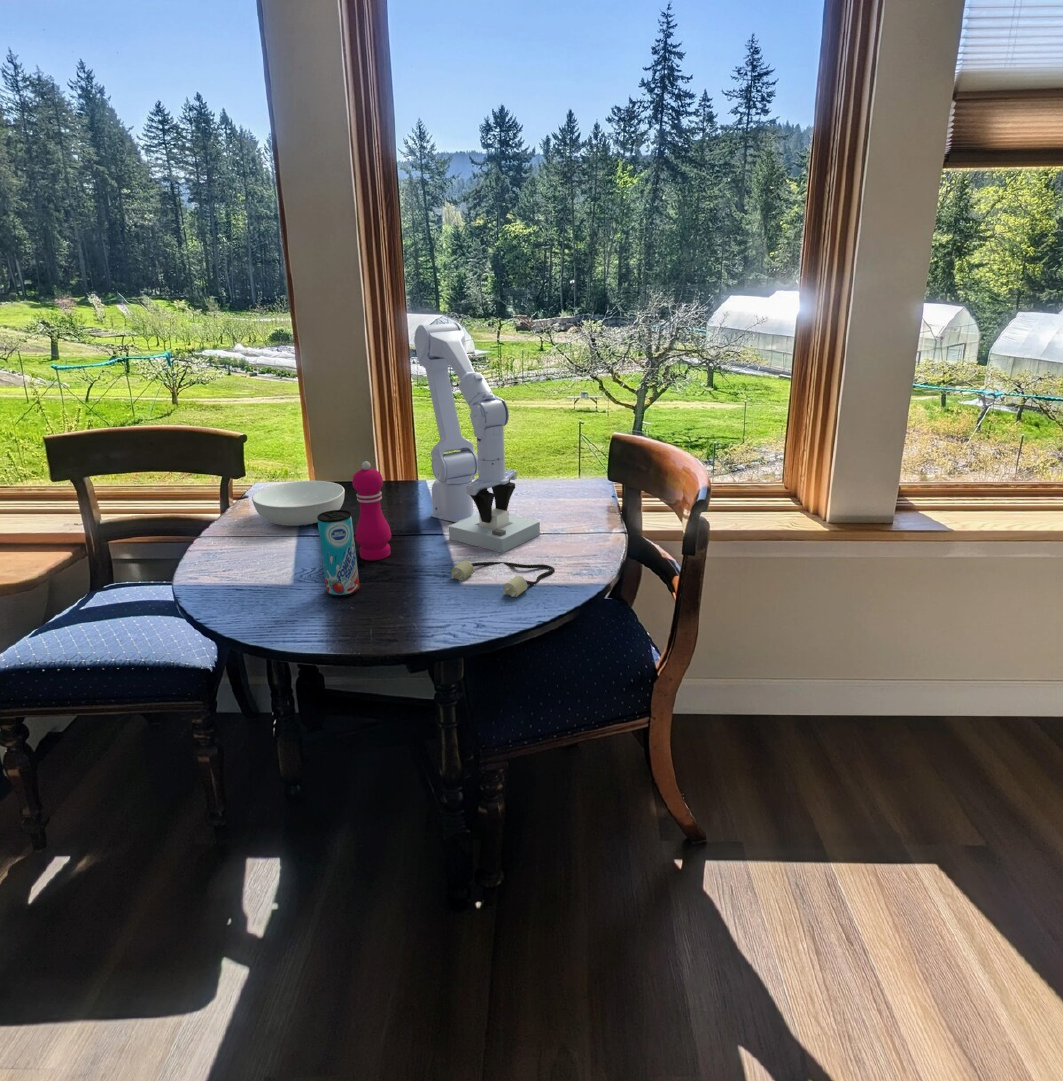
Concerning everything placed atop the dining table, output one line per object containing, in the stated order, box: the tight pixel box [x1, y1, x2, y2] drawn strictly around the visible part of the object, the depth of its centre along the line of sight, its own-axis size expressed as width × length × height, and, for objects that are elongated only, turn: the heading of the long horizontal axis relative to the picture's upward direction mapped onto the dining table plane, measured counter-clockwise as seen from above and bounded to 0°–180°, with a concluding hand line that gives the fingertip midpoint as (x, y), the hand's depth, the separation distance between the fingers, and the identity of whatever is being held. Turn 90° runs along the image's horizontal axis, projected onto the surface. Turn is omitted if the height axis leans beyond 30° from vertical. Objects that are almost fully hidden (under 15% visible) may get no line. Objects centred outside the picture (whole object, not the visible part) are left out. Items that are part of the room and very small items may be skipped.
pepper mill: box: [352, 460, 392, 561], centre depth 153 cm, size 7×7×20 cm
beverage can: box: [317, 509, 360, 598], centre depth 137 cm, size 6×6×15 cm
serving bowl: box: [251, 480, 346, 527], centre depth 178 cm, size 21×21×7 cm
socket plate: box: [448, 514, 541, 554], centre depth 164 cm, size 15×13×4 cm
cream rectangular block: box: [479, 507, 510, 529], centre depth 164 cm, size 5×4×6 cm
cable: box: [450, 560, 556, 598], centre depth 144 cm, size 16×16×4 cm
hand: (493, 518), depth 163 cm, fingers open, 5 cm apart
